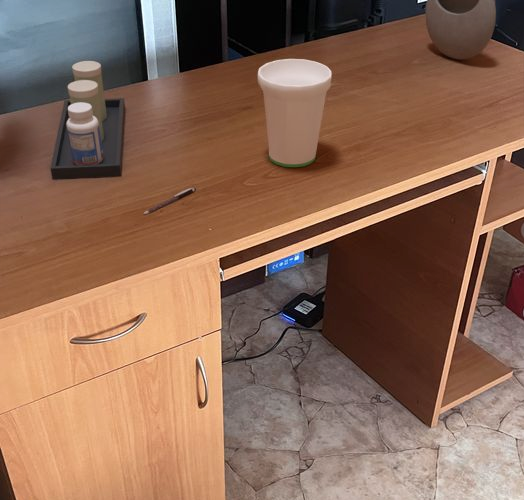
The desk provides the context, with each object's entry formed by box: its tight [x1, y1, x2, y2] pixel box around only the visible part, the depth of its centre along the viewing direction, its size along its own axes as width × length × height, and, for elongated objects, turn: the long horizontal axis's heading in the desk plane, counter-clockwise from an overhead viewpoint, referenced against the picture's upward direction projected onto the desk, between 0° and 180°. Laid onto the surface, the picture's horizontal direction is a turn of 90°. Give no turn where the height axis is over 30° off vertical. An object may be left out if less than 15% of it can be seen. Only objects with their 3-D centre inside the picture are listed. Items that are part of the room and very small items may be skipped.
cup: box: [257, 58, 333, 168], centre depth 136 cm, size 12×12×15 cm
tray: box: [49, 97, 126, 180], centre depth 144 cm, size 12×29×2 cm, turn 6°
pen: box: [143, 187, 197, 215], centre depth 128 cm, size 11×1×1 cm, turn 136°
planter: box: [425, 0, 497, 61], centre depth 172 cm, size 18×7×19 cm, turn 39°
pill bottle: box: [66, 102, 104, 165], centre depth 135 cm, size 6×5×10 cm
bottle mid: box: [67, 80, 104, 142], centre depth 141 cm, size 5×5×10 cm
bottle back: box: [71, 60, 107, 121], centre depth 148 cm, size 5×5×10 cm
